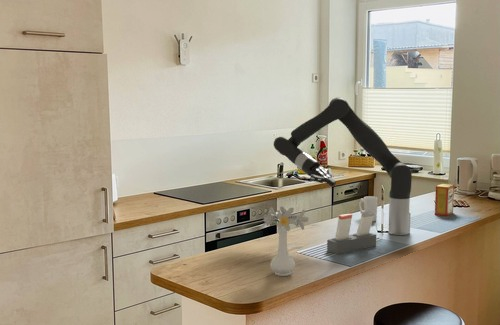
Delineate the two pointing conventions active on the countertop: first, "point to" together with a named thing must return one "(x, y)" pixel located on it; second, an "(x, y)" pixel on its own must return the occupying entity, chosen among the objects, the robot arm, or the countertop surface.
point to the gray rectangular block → (351, 243)
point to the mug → (369, 205)
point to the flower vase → (283, 237)
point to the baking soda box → (444, 199)
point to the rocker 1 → (343, 226)
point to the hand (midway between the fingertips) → (334, 184)
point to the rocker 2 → (365, 223)
